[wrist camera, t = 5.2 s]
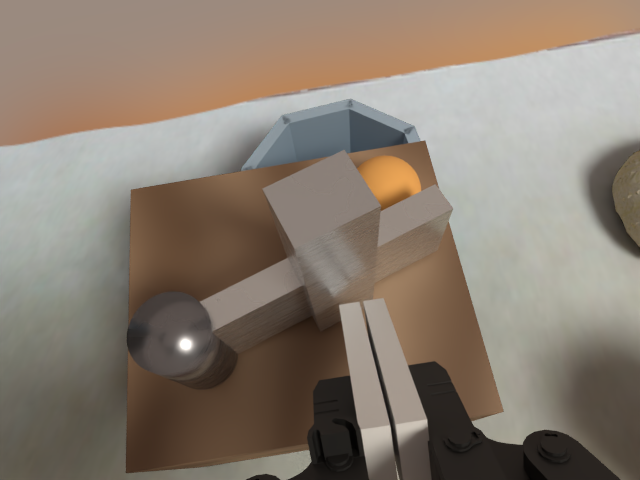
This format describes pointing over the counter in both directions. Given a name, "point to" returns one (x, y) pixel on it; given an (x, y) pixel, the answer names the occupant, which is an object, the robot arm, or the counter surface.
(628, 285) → the counter surface
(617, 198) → the sea urchin shell
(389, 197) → the ball
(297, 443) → the platform
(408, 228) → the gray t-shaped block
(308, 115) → the cup
